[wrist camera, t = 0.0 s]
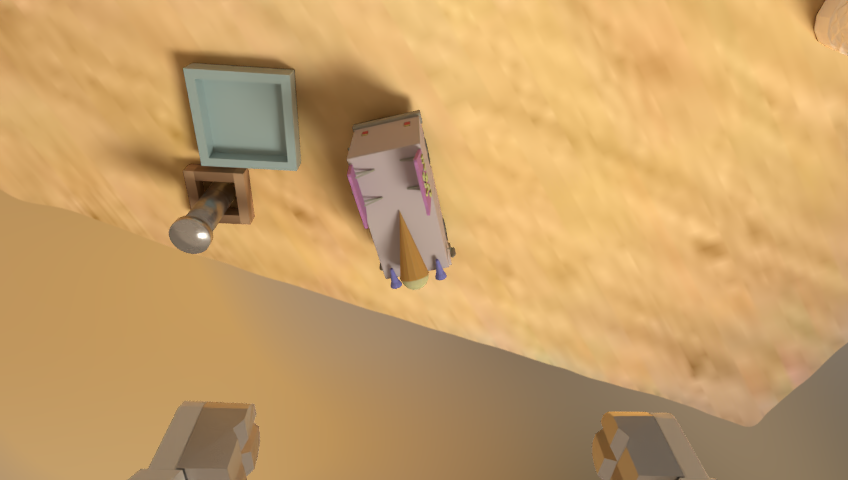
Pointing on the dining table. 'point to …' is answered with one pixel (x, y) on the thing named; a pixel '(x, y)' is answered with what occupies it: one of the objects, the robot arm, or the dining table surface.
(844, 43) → the white cup
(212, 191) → the pin
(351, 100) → the dining table surface
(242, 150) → the tray
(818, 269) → the dining table surface
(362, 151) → the toy vehicle
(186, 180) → the collar
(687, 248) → the dining table surface
